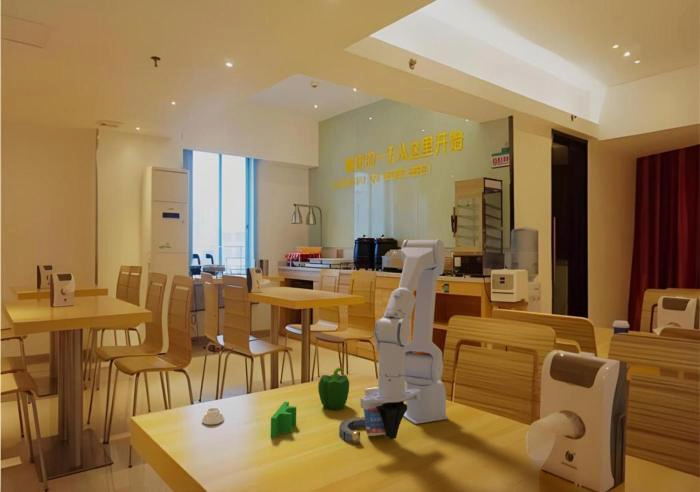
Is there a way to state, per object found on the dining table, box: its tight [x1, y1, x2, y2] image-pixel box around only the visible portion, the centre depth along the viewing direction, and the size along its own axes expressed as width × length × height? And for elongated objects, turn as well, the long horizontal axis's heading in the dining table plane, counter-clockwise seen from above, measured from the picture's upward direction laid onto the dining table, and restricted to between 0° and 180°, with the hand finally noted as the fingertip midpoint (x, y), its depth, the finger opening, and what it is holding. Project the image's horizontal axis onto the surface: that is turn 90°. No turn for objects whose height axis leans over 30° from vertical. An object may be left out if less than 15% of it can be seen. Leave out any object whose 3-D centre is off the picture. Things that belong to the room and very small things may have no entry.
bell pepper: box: [317, 366, 350, 410], centre depth 122 cm, size 8×8×10 cm
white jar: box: [201, 407, 225, 426], centre depth 110 cm, size 5×3×5 cm
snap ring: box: [338, 416, 366, 445], centre depth 105 cm, size 8×12×2 cm, turn 143°
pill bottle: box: [363, 386, 386, 437], centre depth 103 cm, size 6×5×10 cm
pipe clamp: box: [270, 401, 297, 439], centre depth 106 cm, size 11×4×5 cm, turn 173°
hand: (391, 437), depth 99 cm, fingers closed
